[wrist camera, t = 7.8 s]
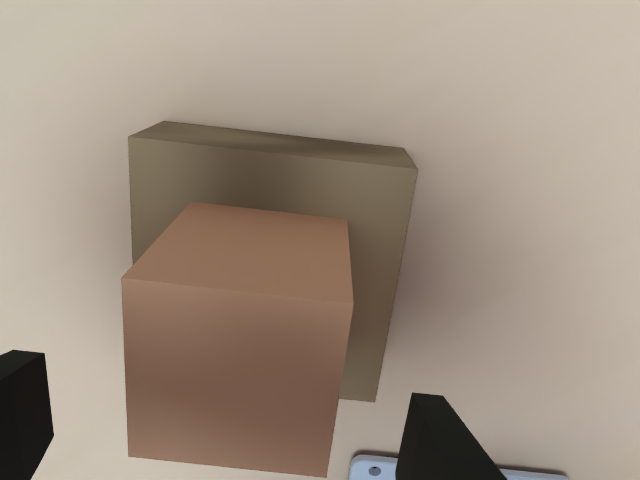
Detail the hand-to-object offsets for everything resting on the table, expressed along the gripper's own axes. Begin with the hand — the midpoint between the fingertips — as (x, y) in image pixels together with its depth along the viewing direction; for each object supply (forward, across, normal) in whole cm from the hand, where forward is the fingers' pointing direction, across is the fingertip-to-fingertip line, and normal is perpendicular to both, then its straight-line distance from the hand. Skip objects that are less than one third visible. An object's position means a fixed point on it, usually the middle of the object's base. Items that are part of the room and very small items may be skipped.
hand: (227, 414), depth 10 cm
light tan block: (+6, 0, 0) cm, 6 cm away
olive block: (+9, 0, 0) cm, 9 cm away
